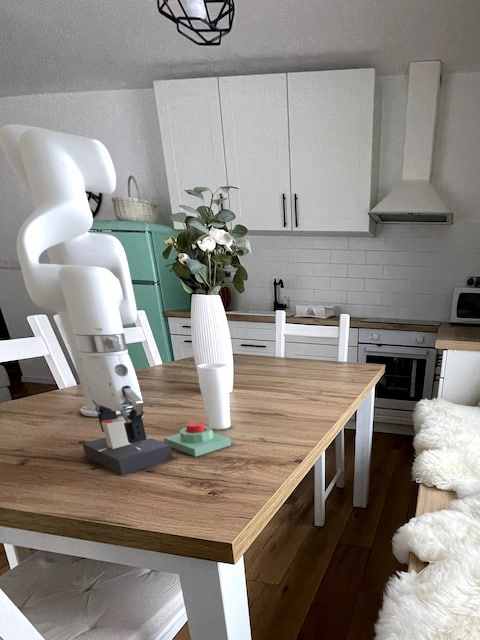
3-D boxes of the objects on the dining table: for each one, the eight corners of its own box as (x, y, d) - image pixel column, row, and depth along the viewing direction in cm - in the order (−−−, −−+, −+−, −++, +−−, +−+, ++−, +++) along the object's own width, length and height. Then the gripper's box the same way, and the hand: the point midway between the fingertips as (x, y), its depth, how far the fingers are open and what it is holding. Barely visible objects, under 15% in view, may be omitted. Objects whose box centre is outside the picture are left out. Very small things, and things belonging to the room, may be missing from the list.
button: (183, 432, 85) (182, 424, 84) (198, 428, 88) (197, 420, 87) (194, 435, 83) (192, 427, 82) (208, 431, 86) (207, 423, 85)
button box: (165, 445, 86) (162, 429, 85) (200, 434, 93) (198, 420, 91) (195, 456, 81) (192, 440, 79) (231, 444, 87) (229, 429, 86)
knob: (138, 438, 80) (132, 413, 78) (143, 440, 79) (138, 415, 77) (107, 446, 76) (100, 420, 74) (112, 449, 75) (106, 422, 73)
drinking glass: (225, 432, 95) (217, 368, 89) (199, 429, 96) (190, 367, 90) (238, 424, 101) (232, 364, 95) (214, 422, 102) (206, 362, 96)
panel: (85, 457, 79) (81, 442, 77) (136, 443, 86) (133, 430, 85) (121, 475, 72) (117, 459, 70) (173, 458, 79) (170, 444, 78)
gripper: (150, 347, 68) (167, 440, 76) (100, 339, 77) (120, 423, 84) (104, 351, 63) (128, 451, 70) (56, 342, 71) (82, 432, 79)
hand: (124, 436), depth 77 cm, fingers open, 9 cm apart
